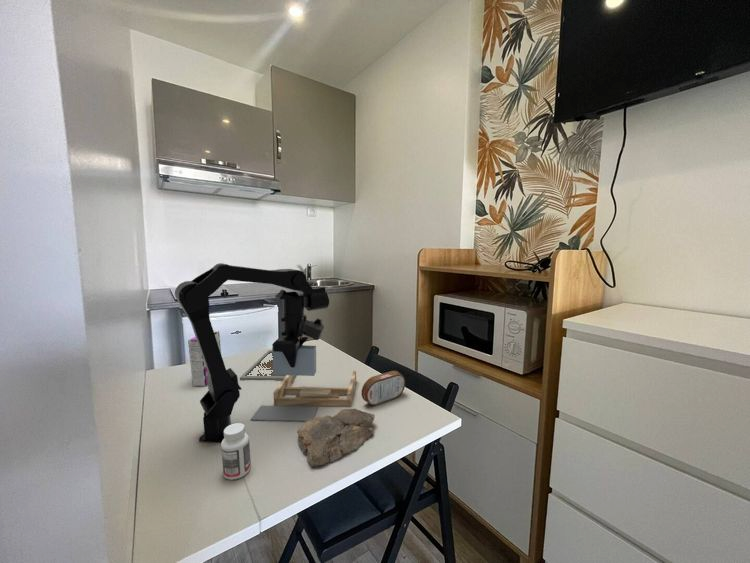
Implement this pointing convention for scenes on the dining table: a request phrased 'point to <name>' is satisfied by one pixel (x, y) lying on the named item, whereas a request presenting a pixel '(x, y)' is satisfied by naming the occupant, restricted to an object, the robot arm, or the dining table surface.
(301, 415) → the mat
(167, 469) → the dining table surface
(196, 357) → the candy bar box
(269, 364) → the grey picture frame
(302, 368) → the light blue block
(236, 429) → the pill bottle
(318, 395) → the offcut upper
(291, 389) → the rack
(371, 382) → the tin
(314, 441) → the brown rock
